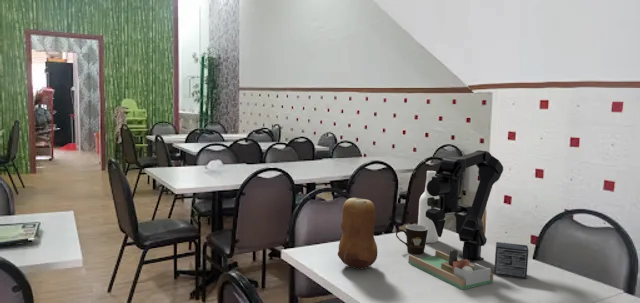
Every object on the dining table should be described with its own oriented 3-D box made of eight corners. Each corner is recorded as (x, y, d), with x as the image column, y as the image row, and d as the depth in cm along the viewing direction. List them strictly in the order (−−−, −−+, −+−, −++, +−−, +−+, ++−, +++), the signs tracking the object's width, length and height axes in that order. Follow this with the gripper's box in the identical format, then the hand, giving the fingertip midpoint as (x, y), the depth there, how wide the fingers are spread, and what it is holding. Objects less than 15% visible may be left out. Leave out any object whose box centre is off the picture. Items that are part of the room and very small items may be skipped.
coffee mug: (429, 251, 193) (431, 227, 192) (422, 257, 186) (423, 231, 185) (402, 246, 199) (403, 222, 198) (394, 251, 192) (395, 226, 191)
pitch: (437, 257, 186) (437, 245, 185) (492, 282, 162) (493, 268, 162) (408, 262, 179) (408, 249, 178) (462, 289, 156) (463, 274, 155)
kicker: (452, 266, 173) (453, 247, 172) (468, 273, 166) (469, 253, 166) (439, 268, 170) (441, 249, 169) (455, 276, 163) (456, 256, 163)
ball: (476, 267, 162) (475, 278, 162) (467, 263, 165) (466, 274, 166) (467, 269, 160) (466, 280, 160) (458, 265, 163) (458, 276, 164)
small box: (525, 273, 172) (527, 244, 171) (526, 279, 166) (529, 250, 165) (494, 269, 175) (496, 240, 174) (494, 275, 169) (496, 246, 168)
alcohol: (417, 242, 204) (421, 172, 201) (416, 236, 213) (420, 169, 210) (438, 244, 203) (443, 173, 199) (437, 238, 212) (441, 170, 208)
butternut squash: (369, 259, 181) (371, 194, 178) (382, 272, 168) (385, 202, 165) (333, 261, 178) (335, 195, 175) (343, 275, 165) (346, 203, 162)
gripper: (452, 186, 185) (450, 226, 187) (415, 191, 175) (414, 232, 177) (475, 191, 175) (473, 233, 177) (438, 197, 166) (435, 241, 168)
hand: (448, 235), depth 175 cm, fingers open, 9 cm apart
